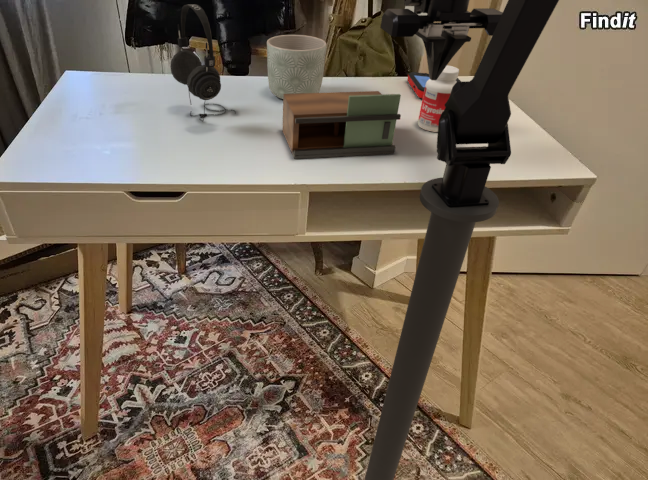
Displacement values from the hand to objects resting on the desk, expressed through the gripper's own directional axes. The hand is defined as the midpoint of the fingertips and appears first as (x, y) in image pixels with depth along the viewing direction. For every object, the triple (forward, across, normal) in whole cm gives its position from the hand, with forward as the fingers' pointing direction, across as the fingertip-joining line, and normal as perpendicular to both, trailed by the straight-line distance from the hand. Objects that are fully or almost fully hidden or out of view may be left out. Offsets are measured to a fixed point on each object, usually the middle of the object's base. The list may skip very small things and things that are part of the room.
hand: (432, 79), depth 82 cm
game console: (+12, -17, -30) cm, 36 cm away
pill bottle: (+12, -7, -10) cm, 17 cm away
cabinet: (+12, +14, -5) cm, 19 cm away
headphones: (+12, +36, -19) cm, 42 cm away
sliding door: (+11, +10, 0) cm, 15 cm away
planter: (+12, +17, -30) cm, 36 cm away
